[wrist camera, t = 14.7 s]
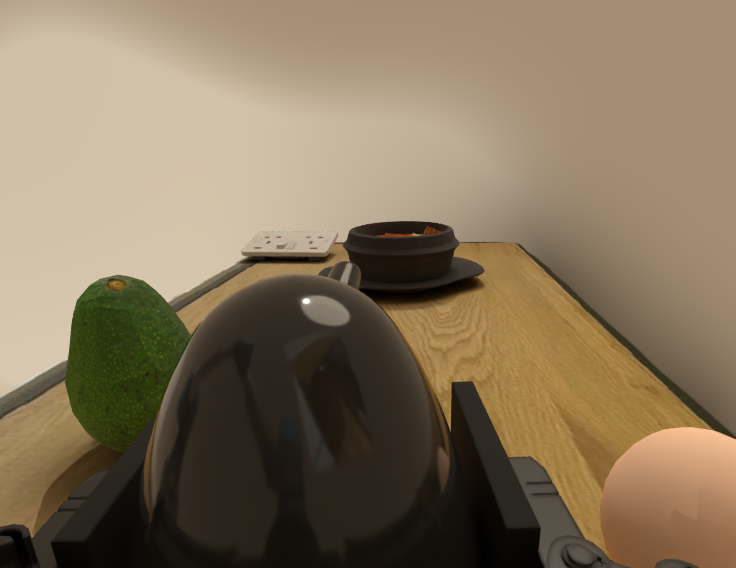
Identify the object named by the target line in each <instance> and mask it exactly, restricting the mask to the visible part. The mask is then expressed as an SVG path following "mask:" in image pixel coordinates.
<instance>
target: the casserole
mask: <svg viewBox="0 0 736 568" xmlns="http://www.w3.org/2000/svg"><path fill="white" fill-rule="evenodd" d="M458 245H459V241H458V240H457V239H456V238H455V236H454V232H453V230H452V228H451V227H449V226H447V225H443V224H439V223H432V222H417V221H399V222H382V223H373V224H366V225H362V226H358V227H355V228H352V229H351V230H350V231H349V234H348V238H347V240H346V242H345V243H344V244H343V247H344V248H345V249H346V250H347V252H348V255H349V259H350V262H352V263H354V264H355V265H356V266H357V267H358V268H359V269H360V271H361V283H360V288H359V289H370V290H374V291H379V292H386V293H414V292H421V291H425V290H430V289H433V288H436V287H439V286H443V285H446V284H449V283H452V282H455V281H458V280H461V279H466V278H470V277H475V276H479V275H481V274H482V273H484V269H483V267H482V266H480V265H479V264H477V263H476V262H473V261H470V260H467V259H463V258H458V257H453V254H454V250H455V249H456V247H457V246H458ZM333 267H334V266H332V267H328V268H325V269H323V270H322V271H321V272H320V273H319V274H318V275H319V276H323V277H328V276H329V274H330V272H331V270H332V268H333Z"/></svg>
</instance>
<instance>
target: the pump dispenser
mask: <svg viewBox="0 0 736 568" xmlns="http://www.w3.org/2000/svg"><path fill="white" fill-rule="evenodd" d="M360 283H361V271H360V269H359V268H358V267H357V266H356V265H355V264H354V263H352V262H348V261H341V262H339V263H337V264H335V265H334V267H333V268H332V270H331V272H330V274H329V276H328V277H323V276H319V275H311V274H286V275H279V276H273V277H270V278H266V279H262V280H259V281H257V282H254V283H252V284H249V285H247V286H245V287H243V288H241V289H239V290H238V291H236V292H234V293H233V294H231V295H229V296H228V297H227V298H225V299H224V300H223V301H221V302H220V303H219V304H217V305H216V306H215V307H214V308H213V309H212V310H211V311H210V312H209V313H208V314H207V315H206V316H205V317H204V318H203V320H202V321H201V322H200V323H199V325H198V326H197V328H196V329H195V330H194V332H193V334H192V335H191V337H190V338H189V340H188V342H187V344H186V345H185V347H184V349H183V351H182V353H181V355H180V357H179V359H178V361H177V363H176V365H175V367H174V369H173V372H172V374H171V376H170V378H169V381H168V383H167V386H166V388H165V391H164V393H163V396H162V399H161V402H160V404H159V407H158V411H157V414H156V417H155V420H154V424H153V427H152V431H151V435H150V438H149V442H148V446H147V450H146V454H145V459H144V463H143V468H142V473H141V479H140V484H139V489H138V495H137V501H136V507H135V513H134V520H133V526H132V533H131V541H130V549H129V557H128V565H127V568H486V566H485V560H484V555H483V550H482V544H481V539H480V535H479V530H478V526H477V522H476V518H475V514H474V510H473V506H472V502H471V498H470V495H469V491H468V488H467V484H466V481H465V477H464V474H463V470H462V467H461V464H460V460H459V457H458V454H457V451H456V447H455V444H454V441H453V438H452V435H451V432H450V429H449V426H448V423H447V421H446V418H445V415H444V413H443V410H442V408H441V405H440V403H439V401H438V398H437V396H436V394H435V391H434V389H433V387H432V385H431V383H430V380H429V378H428V376H427V374H426V372H425V370H424V369H423V367H422V365H421V363H420V361H419V359H418V358H417V356H416V354H415V353H414V351H413V349H412V348H411V346H410V345H409V343H408V341H407V340H406V338H405V337H404V336H403V334H402V333H401V331H400V330H399V328H398V327H397V326H396V324H395V323H394V322H393V320H392V319H391V318H390V317H389V315H388V314H387V313H386V312H385V311H384V310H383V309H382V308H381V307H380V306H379V305H378V304H377V303H376V302H375V301H374V300H373V299H371V298H370V297H369V296H367V295H366V294H364V293H363V292H361V291H360V290H359V288H360Z"/></svg>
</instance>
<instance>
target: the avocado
mask: <svg viewBox="0 0 736 568" xmlns="http://www.w3.org/2000/svg"><path fill="white" fill-rule="evenodd" d="M190 337H191V335H190V333H189V332H188V330H187V329H186V327H185V325H184V324H183V322H182V321H181V320H180V318H179V317H178V316H177V314H176V313H175V312H174V310H173V309H172V307H171V306H170V305H169V304H168V303H167V302H166V301H165V299H164V298H163V297H162V296H161V295H160V294H159V293H158V292H157V291H156V290H155V289H153V288H152V287H151V286H149V285H148V284H147V283H146V282H144V281H142V280H139V279H135V278H132V277H128V276H122V275H115V276H111V277H106V278H102V279H99V280H97V281H96V282H94V283H93V284H91V285H90V286H89V287H88V288H87V289H86V290H85V292H84V293H83V294H82V295H81V296H80V298H79V299H78V300H77V303H76V306H75V310H74V314H73V319H72V326H71V337H70V348H69V356H68V363H67V370H66V379H65V384H66V388H67V392H68V396H69V400H70V404H71V408H72V411H73V413H74V415H75V416H76V418H77V419H78V421H79V422H80V423H81V425H82V426H83V428H84V429H85V430H86V432H87V433H88V434H89V435H90V436H91V437H93V438H94V439H95V440H96V441H97V442H99V443H100V444H102V445H104V446H106V447H107V448H109V449H111V450H113V451H118V452H125V451H126V450H127V449H128V447H129V446H130V445H131V444H132V442H133V441H134V440H135V439H136V438H137V436H138V435H139V434H140V433H141V432H142V430H143V429H144V428H145V427H146V426H147V424H148V423H149V422H150V421H151V419H152V418H153V417H154V416H155V415H156V413H157V411H158V407H159V404H160V402H161V399H162V396H163V393H164V391H165V388H166V386H167V383H168V381H169V378H170V376H171V374H172V372H173V369H174V367H175V365H176V363H177V361H178V359H179V357H180V355H181V353H182V351H183V349H184V347H185V345H186V344H187V342H188V340H189V338H190Z"/></svg>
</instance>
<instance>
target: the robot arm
mask: <svg viewBox="0 0 736 568" xmlns="http://www.w3.org/2000/svg"><path fill="white" fill-rule="evenodd" d="M156 414H157V413H156ZM155 417H156V415H155V416H154V417H153V418H152V419H151V421H150V422H149V423H148V424H147V426H146V427H145V428H144V429H143V430H142V432H141V433H140V434H139V435H138V436H137V438H136V439H135V440H134V441H133V442H132V444H131V445H130V446H129V447H128V449H127V450H126V451H125V452H124V453H123V455H122V456H121V457H120V458H119V459H118V461H117V462H116V463H115V464H114V466H113V467H112V468H111V469H110V470H109V471H97V472H96V473H94V474H93V475H92V476H90V477H89V478H87V479H86V480H85V481H83V482H82V483H80V484H79V486H78V487H77V488H76V489H75V490H74V491H73V492H72V494H71V495H70V496H69V497H68V500H65V502H64V503H63V504H62V505H61V506H60V507H59V508H58V511H57V512H55V513H54V514H53V515H52V516H51V517H50V519H49V520H48V521H47V522H46V523H45V524H44V525H43V526H42V528H41V529H40V530H39V531H38V532H37V533H36V534H35V536H34V537H33V538H31V535H30V532H29V529H28V528H27V527H25V526H24V525H16V524H12V525H8V526H3V527H0V568H127V565H128V557H129V549H130V541H131V533H132V526H133V520H134V513H135V507H136V501H137V495H138V489H139V484H140V479H141V473H142V468H143V463H144V459H145V454H146V450H147V446H148V442H149V438H150V435H151V431H152V427H153V424H154V420H155ZM451 435H452V438H453V441H454V444H455V447H456V451H457V454H458V457H459V460H460V464H461V467H462V470H463V474H464V477H465V481H466V484H467V488H468V491H469V495H470V498H471V502H472V506H473V510H474V514H475V518H476V522H477V526H478V530H479V535H480V539H481V544H482V550H483V555H484V560H485V566H486V568H631V567H627V566H624V565H621V564H618V563H615V562H613V561H611V560H609V559H608V557H607V556H606V554H605V553H604V552H603V551H602V550H601V549H600V548H599V547H597V546H596V545H595V544H594V543H592V542H590V541H588V540H586V539H585V538H584V536H583V535H582V533H581V531H580V529H579V528H578V526H577V524H576V522H575V521H574V519H573V517H572V515H571V514H570V512H569V510H568V508H567V507H566V505H565V503H564V501H563V500H562V498H561V496H559V493H558V491H557V489H556V487H555V485H554V484H553V483H552V480H551V478H550V477H549V475H548V473H547V471H546V470H545V468H544V467H543V466H542V465H540V464H539V463H538V462H537V461H536V460H534V459H533V458H532V457H508V456H507V454H506V452H505V450H504V448H503V446H502V443H501V441H500V439H499V437H498V435H497V433H496V431H495V429H494V426H493V424H492V422H491V420H490V418H489V416H488V414H487V411H486V409H485V407H484V405H483V403H482V401H481V399H480V397H479V394H478V392H477V390H476V388H475V386H474V384H473V382H472V381H470V382H452V398H451ZM654 568H699V567H697V566H695V565H693V564H691V563H688V562H685V561H681V560H678V559H664V560H662V561H660V562H657V563H656V565H655V567H654Z"/></svg>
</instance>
